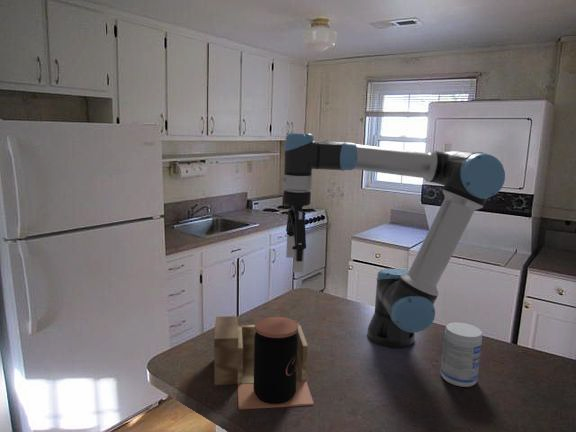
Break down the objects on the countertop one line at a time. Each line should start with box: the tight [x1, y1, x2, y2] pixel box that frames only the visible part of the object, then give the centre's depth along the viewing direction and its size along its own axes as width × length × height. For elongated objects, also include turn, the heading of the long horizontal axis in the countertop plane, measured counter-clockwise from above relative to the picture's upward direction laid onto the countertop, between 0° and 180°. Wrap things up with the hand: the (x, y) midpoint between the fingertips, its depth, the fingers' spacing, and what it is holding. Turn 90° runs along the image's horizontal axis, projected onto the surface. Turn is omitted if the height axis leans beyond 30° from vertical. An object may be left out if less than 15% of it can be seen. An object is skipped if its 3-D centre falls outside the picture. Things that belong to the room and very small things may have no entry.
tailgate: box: [237, 380, 314, 410], centre depth 106 cm, size 18×1×10 cm
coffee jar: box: [253, 316, 299, 404], centre depth 105 cm, size 11×11×18 cm
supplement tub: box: [440, 321, 483, 388], centre depth 117 cm, size 10×10×15 cm
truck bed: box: [213, 315, 309, 386], centre depth 116 cm, size 24×13×14 cm, turn 98°
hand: (294, 264), depth 121 cm, fingers open, 13 cm apart
